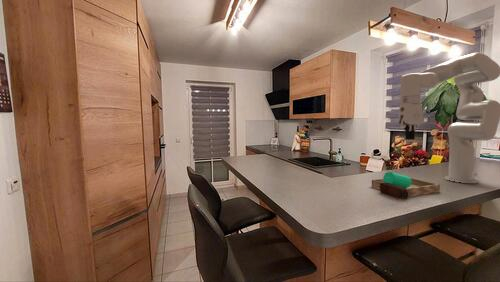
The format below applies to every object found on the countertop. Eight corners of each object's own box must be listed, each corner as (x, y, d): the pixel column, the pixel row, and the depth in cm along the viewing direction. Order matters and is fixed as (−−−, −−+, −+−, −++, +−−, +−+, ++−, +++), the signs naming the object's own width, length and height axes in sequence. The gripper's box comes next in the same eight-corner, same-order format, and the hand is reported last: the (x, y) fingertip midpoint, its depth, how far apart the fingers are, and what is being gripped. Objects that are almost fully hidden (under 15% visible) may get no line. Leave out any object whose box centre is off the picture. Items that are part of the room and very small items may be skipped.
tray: (403, 182, 112) (403, 176, 111) (439, 191, 95) (439, 184, 95) (371, 186, 106) (371, 180, 106) (404, 197, 90) (404, 189, 90)
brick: (379, 192, 97) (379, 182, 97) (386, 191, 98) (386, 181, 98) (401, 200, 87) (401, 189, 87) (408, 199, 88) (408, 188, 88)
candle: (414, 179, 97) (394, 174, 94) (408, 190, 99) (388, 186, 96) (403, 173, 103) (384, 168, 100) (397, 184, 104) (378, 179, 101)
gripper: (405, 99, 93) (405, 140, 94) (430, 99, 97) (429, 138, 98) (390, 102, 100) (390, 140, 102) (414, 101, 104) (413, 138, 106)
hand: (409, 139), depth 100 cm, fingers closed
